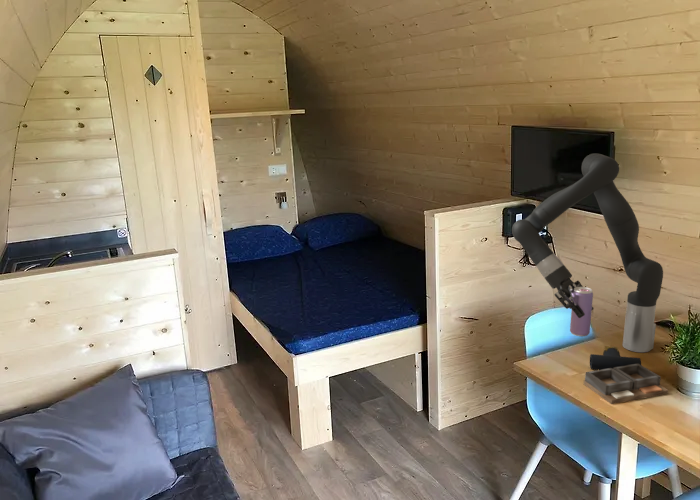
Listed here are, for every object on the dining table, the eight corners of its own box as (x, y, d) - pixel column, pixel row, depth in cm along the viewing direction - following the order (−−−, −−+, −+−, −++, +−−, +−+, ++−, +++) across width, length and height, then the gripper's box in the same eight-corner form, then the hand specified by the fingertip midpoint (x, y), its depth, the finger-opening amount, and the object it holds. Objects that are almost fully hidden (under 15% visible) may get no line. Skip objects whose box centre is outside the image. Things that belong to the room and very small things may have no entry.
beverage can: (587, 338, 185) (591, 293, 181) (567, 334, 188) (571, 290, 184) (591, 331, 190) (595, 288, 186) (572, 328, 193) (575, 285, 189)
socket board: (637, 374, 191) (638, 363, 190) (667, 393, 179) (669, 381, 178) (583, 384, 186) (584, 372, 185) (611, 404, 174) (612, 391, 173)
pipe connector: (587, 343, 204) (634, 346, 200) (586, 356, 206) (633, 360, 202) (592, 357, 193) (642, 361, 190) (591, 372, 195) (640, 376, 191)
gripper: (551, 269, 184) (586, 314, 179) (572, 259, 193) (605, 301, 188) (535, 282, 189) (568, 326, 184) (555, 272, 198) (587, 313, 194)
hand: (586, 313), depth 186 cm, fingers closed on beverage can, 6 cm apart
